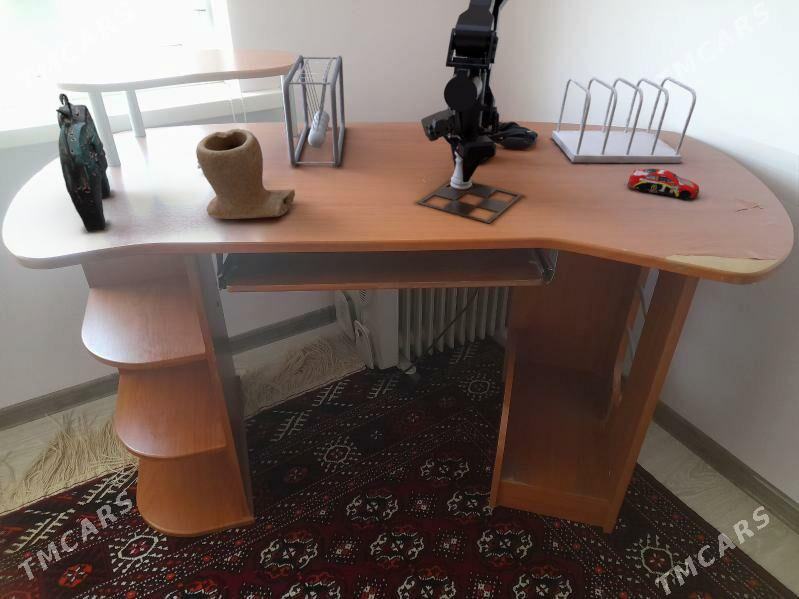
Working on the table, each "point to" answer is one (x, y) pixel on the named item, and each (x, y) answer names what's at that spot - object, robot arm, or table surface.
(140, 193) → the table surface
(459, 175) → the rook chess piece
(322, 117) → the newton's cradle
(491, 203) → the chessboard
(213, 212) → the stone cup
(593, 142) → the file sorter
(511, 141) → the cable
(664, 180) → the race car
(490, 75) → the robot arm
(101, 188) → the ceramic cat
